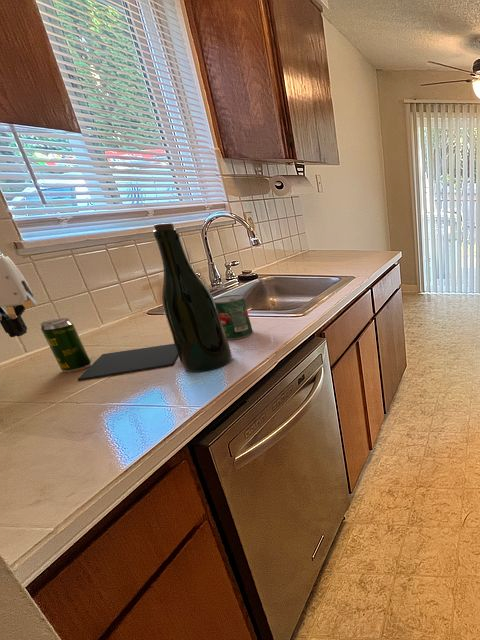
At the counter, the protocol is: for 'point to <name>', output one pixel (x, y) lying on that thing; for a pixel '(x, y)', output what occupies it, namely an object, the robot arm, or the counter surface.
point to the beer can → (65, 344)
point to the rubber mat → (131, 361)
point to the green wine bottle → (189, 307)
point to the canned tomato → (234, 316)
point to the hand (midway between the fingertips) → (19, 334)
